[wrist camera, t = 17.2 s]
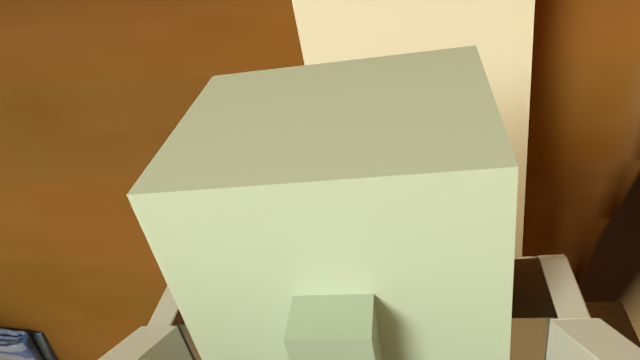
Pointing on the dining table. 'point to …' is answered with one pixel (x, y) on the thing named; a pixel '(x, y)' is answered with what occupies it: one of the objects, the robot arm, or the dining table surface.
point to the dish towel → (24, 345)
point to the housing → (435, 48)
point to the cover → (340, 212)
